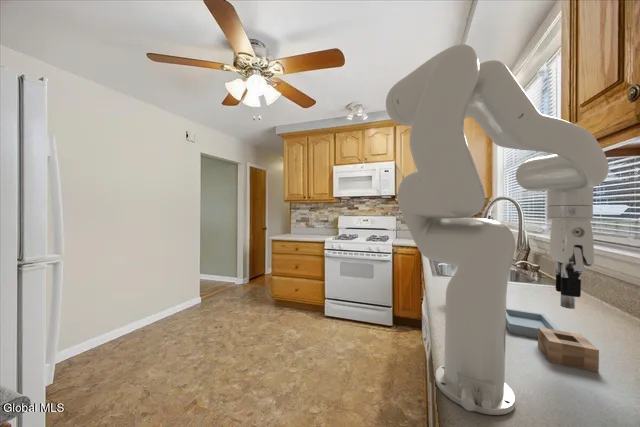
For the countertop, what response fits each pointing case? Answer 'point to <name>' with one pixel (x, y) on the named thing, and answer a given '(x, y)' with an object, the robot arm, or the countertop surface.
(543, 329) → the bore block
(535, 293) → the countertop surface
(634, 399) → the countertop surface
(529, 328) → the tray
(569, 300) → the pin
